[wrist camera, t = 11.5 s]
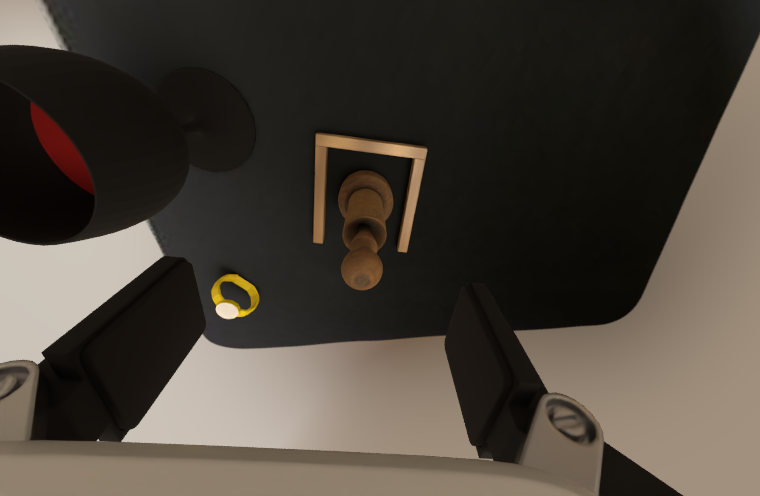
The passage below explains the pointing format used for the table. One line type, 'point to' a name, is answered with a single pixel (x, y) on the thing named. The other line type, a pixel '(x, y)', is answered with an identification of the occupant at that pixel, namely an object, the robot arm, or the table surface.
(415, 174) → the frame
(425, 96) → the table surface
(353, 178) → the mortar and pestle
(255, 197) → the table surface
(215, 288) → the watch
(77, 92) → the wine glass
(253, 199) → the table surface
